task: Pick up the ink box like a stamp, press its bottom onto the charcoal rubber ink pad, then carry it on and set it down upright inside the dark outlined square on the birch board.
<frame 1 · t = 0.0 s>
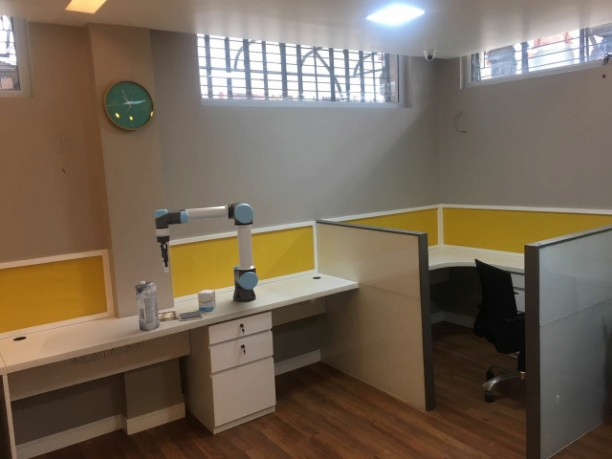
hand: (166, 270, 322), 28 cm above the table, fingers open, 13 cm apart
print board: (163, 317, 321), on the table
ink pad: (190, 316, 320), on the table
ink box: (207, 309, 334), on the table
juice carton: (149, 328, 302), on the table
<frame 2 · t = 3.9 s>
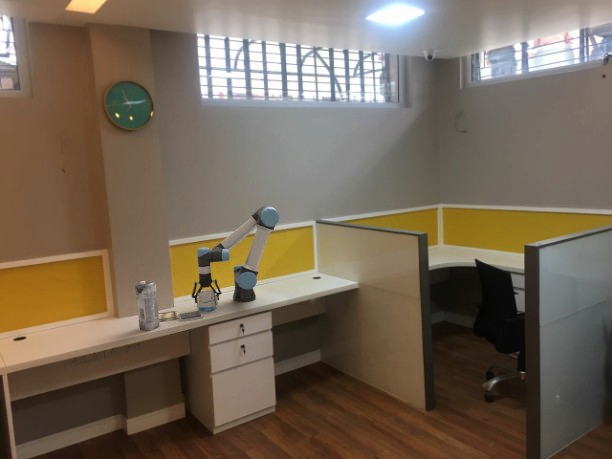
hand: (207, 306, 334), 2 cm above the table, fingers closed on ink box, 11 cm apart
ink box: (207, 309, 334), on the table, touching gripper
everything else where it was.
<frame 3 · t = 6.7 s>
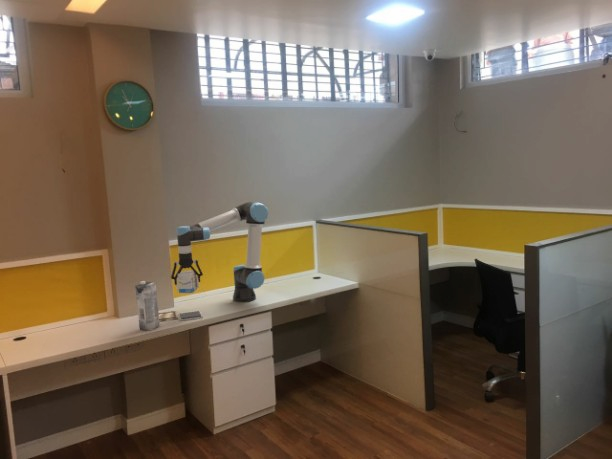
hand: (188, 288, 318), 17 cm above the table, fingers closed on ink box, 11 cm apart
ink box: (188, 291, 318), point 15 cm above the table, touching gripper
everything else where it was.
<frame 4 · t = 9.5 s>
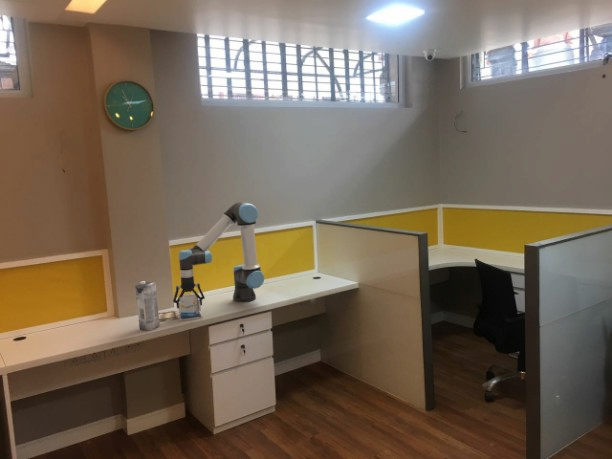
hand: (190, 312, 320), 3 cm above the table, fingers closed on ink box, 11 cm apart
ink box: (190, 314, 320), point 1 cm above the table, touching gripper, ink pad
everything else where it was.
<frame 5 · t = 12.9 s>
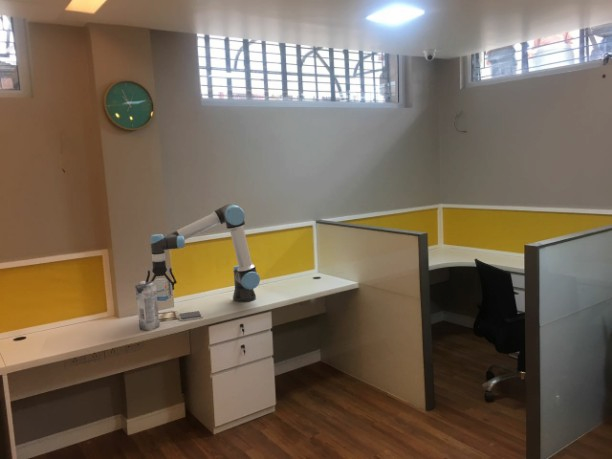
hand: (161, 296, 319), 13 cm above the table, fingers closed on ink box, 11 cm apart
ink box: (162, 299, 319), point 11 cm above the table, touching gripper
everything else where it was.
when the fingers open (3 cm above the table, at t = 15.6 s): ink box stays where it is, resting on print board.
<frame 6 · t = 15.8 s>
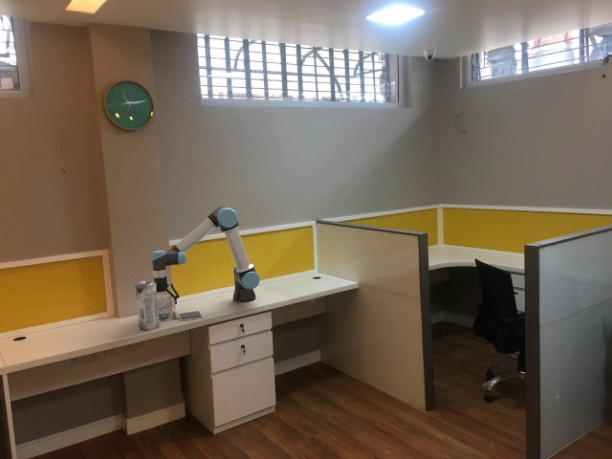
hand: (163, 311, 320), 4 cm above the table, fingers open, 13 cm apart
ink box: (164, 316, 321), point 1 cm above the table, touching print board
everything else where it was.
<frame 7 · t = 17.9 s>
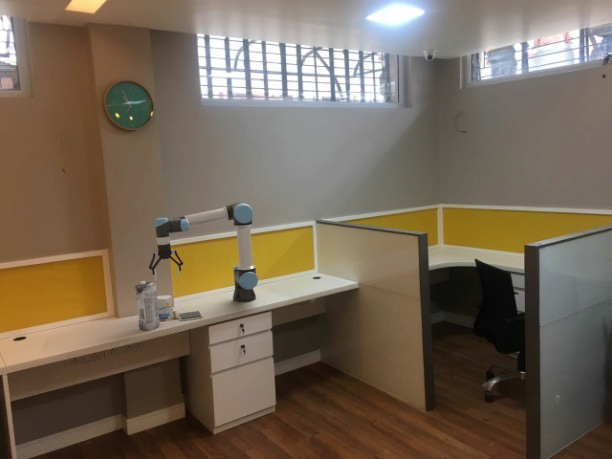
hand: (167, 278, 323), 23 cm above the table, fingers open, 13 cm apart
nothing on the table moved.
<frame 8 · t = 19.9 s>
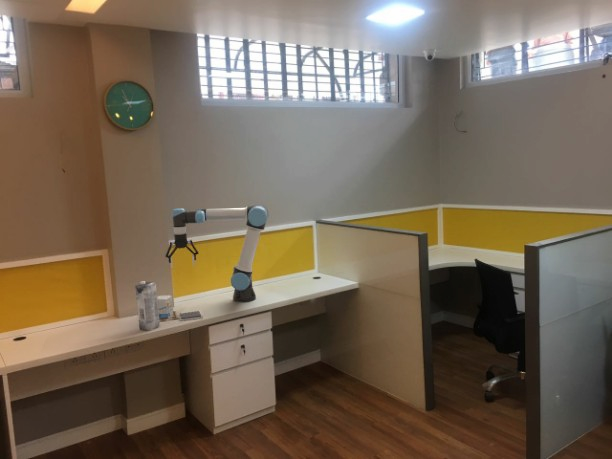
hand: (183, 266, 336), 27 cm above the table, fingers open, 13 cm apart
nothing on the table moved.
at the end: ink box inside the target area on the print board (0.2 cm from its centre), point 0.8 cm above the print board's base; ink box tilted 0°; the gripper is holding nothing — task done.
